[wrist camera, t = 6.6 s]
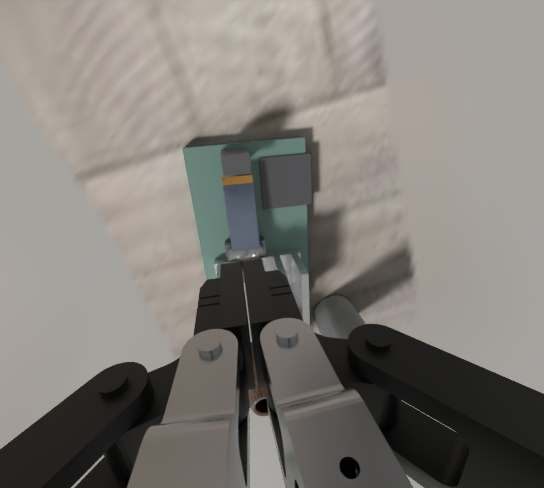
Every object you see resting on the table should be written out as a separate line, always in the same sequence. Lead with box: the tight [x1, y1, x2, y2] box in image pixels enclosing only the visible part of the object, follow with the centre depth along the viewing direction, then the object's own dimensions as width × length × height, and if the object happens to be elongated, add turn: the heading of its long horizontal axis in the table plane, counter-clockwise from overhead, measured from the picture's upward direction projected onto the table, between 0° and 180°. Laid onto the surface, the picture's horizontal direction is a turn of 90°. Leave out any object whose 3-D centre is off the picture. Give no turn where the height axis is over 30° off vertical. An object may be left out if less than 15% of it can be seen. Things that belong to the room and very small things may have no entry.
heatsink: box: [214, 236, 310, 342], centre depth 26 cm, size 8×8×5 cm
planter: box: [314, 295, 365, 339], centre depth 29 cm, size 4×4×10 cm
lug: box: [221, 148, 251, 176], centre depth 22 cm, size 2×2×4 cm
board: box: [183, 137, 312, 280], centre depth 28 cm, size 16×10×1 cm, turn 4°
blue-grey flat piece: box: [222, 174, 266, 263], centre depth 25 cm, size 7×3×1 cm, turn 4°
